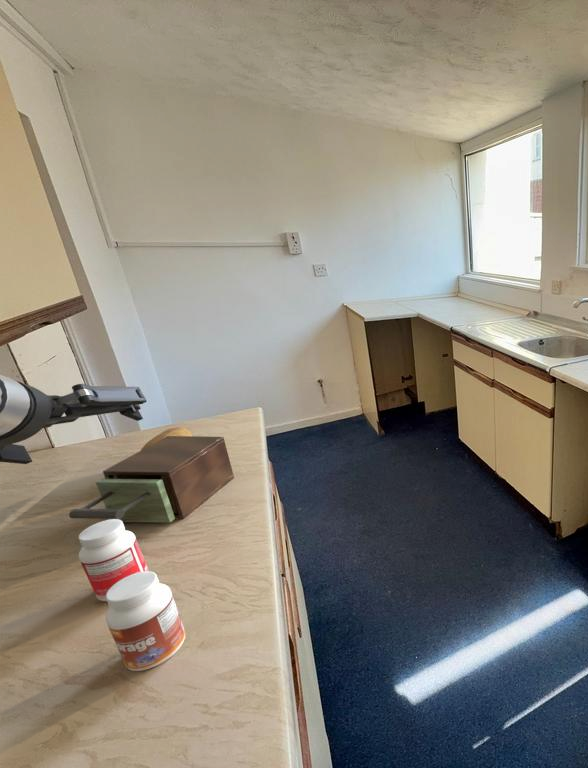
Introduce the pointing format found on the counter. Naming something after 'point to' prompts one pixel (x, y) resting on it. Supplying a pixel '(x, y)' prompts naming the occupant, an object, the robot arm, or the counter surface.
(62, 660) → the counter surface
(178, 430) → the potato
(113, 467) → the cabinet
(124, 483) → the drawer
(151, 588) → the pill bottle
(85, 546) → the pill bottle
